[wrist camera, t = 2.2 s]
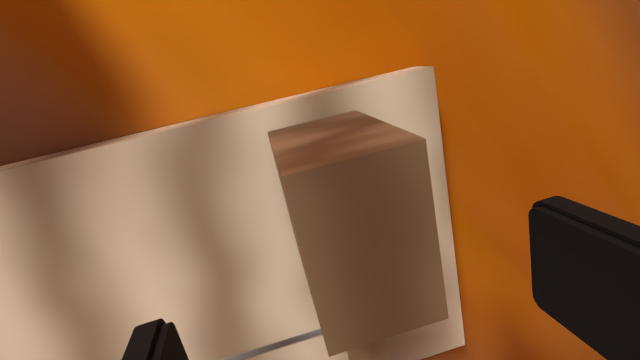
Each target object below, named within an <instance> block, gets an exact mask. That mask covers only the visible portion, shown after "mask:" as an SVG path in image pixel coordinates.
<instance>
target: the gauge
mask: <svg viewBox="0 0 640 360" xmlns="http://www.w3.org/2000/svg"><path fill="white" fill-rule="evenodd" d="M267 133H268V137H269V141H270V144H271V148H272V152H273V156H274V160H275V163H276V167H277V171H278V175H279V179H280V182H281V186H282V190H283V194H284V197H285V201H286V205H287V209H288V213H289V216H290V220H291V224H292V228H293V232H294V235H295V239H296V243H297V247H298V251H299V254H300V258H301V261H302V265H303V268H304V272H305V275H306V279H307V282H308V286H309V289H310V293H311V296H312V300H313V303H314V307H315V310H316V313H317V317H318V320H319V324H320V327H321V331H322V334H323V338H324V341H325V345H326V348H327V352H328V355H329V357H330V356H333V355H337V354H340V353H343V352H346V351H347V354H348V359H349V360H390V358H389V353H388V348H387V343H386V338H389V337H393V336H396V335H399V334H402V333H405V332H408V331H411V330H414V329H417V328H421V327H424V326H427V325H430V324H433V323H436V322H439V321H442V320H445V319H449V317H448V309H447V301H446V293H445V286H444V278H443V270H442V262H441V254H440V246H439V239H438V231H437V223H436V215H435V207H434V199H433V191H432V184H431V176H430V168H429V160H428V152H427V144H426V139H425V138H423V137H420V136H418V135H416V134H413V133H411V132H408V131H406V130H403V129H401V128H398V127H396V126H394V125H391V124H389V123H386V122H384V121H381V120H379V119H376V118H374V117H371V116H369V115H367V114H364V113H362V112H359V111H357V110H353V111H349V112H345V113H341V114H337V115H333V116H329V117H325V118H321V119H317V120H313V121H309V122H305V123H301V124H297V125H293V126H289V127H285V128H281V129H277V130H273V131H269V132H267Z"/></svg>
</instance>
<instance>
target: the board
mask: <svg viewBox="0 0 640 360" xmlns="http://www.w3.org/2000/svg"><path fill="white" fill-rule="evenodd" d="M353 110H357V111H359V112H362V113H364V114H367V115H369V116H371V117H374V118H376V119H379V120H381V121H384V122H386V123H389V124H391V125H394V126H396V127H398V128H401V129H403V130H406V131H408V132H411V133H413V134H416V135H418V136H420V137H423V138H425V139H426V144H427V152H428V160H429V168H430V176H431V184H432V191H433V199H434V207H435V215H436V223H437V231H438V239H439V246H440V254H441V262H442V270H443V278H444V286H445V293H446V301H447V309H448V317H449V319H445V320H442V321H439V322H436V323H433V324H430V325H427V326H424V327H421V328H417V329H414V330H411V331H408V332H405V333H402V334H399V335H396V336H393V337H389V338H386V343H387V348H388V353H389V358H390V360H421V359H424V358H427V357H430V356H433V355H436V354H439V353H442V352H445V351H448V350H451V349H454V348H457V347H460V346H463V345H465V339H464V330H463V321H462V312H461V303H460V295H459V286H458V277H457V268H456V259H455V251H454V242H453V233H452V224H451V215H450V206H449V198H448V189H447V180H446V171H445V162H444V154H443V145H442V136H441V127H440V118H439V110H438V101H437V92H436V83H435V74H434V67H421V66H415V67H411V68H407V69H402V70H398V71H394V72H390V73H386V74H382V75H377V76H373V77H369V78H365V79H361V80H357V81H352V82H348V83H344V84H340V85H336V86H332V87H327V88H323V89H319V90H315V91H311V92H307V93H302V94H298V95H294V96H290V97H286V98H282V99H277V100H273V101H269V102H265V103H261V104H257V105H252V106H248V107H244V108H240V109H236V110H232V111H227V112H223V113H219V114H215V115H211V116H207V117H202V118H198V119H194V120H190V121H186V122H182V123H177V124H173V125H169V126H165V127H161V128H157V129H152V130H148V131H144V132H140V133H136V134H132V135H127V136H123V137H119V138H115V139H111V140H107V141H102V142H98V143H94V144H90V145H86V146H82V147H77V148H73V149H69V150H65V151H61V152H57V153H52V154H48V155H44V156H40V157H36V158H32V159H27V160H23V161H19V162H15V163H11V164H7V165H2V166H0V360H122V357H123V355H124V352H125V350H126V347H127V345H128V342H129V340H130V337H131V335H132V332H133V330H134V328H135V327H136V326H138V325H141V324H144V323H148V322H151V321H154V320H157V319H160V318H161V319H163V320H164V321H165V322H166V323H169V322H173V323H174V325H175V327H176V329H177V331H178V334H179V336H180V339H181V341H182V344H183V346H184V349H185V351H186V354H187V356H188V359H189V360H349V359H348V354H347V351H346V352H343V353H340V354H337V355H333V356H330V357H329V355H328V352H327V348H326V345H325V341H324V338H323V334H322V331H321V327H320V324H319V320H318V317H317V313H316V310H315V307H314V303H313V300H312V296H311V293H310V289H309V286H308V282H307V279H306V275H305V272H304V268H303V265H302V261H301V258H300V254H299V251H298V247H297V243H296V239H295V235H294V232H293V228H292V224H291V220H290V216H289V213H288V209H287V205H286V201H285V197H284V194H283V190H282V186H281V182H280V179H279V175H278V171H277V167H276V163H275V160H274V156H273V152H272V148H271V144H270V141H269V137H268V133H267V132H269V131H273V130H277V129H281V128H285V127H289V126H293V125H297V124H301V123H305V122H309V121H313V120H317V119H321V118H325V117H329V116H333V115H337V114H341V113H345V112H349V111H353Z"/></svg>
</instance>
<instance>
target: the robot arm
mask: <svg viewBox="0 0 640 360" xmlns="http://www.w3.org/2000/svg"><path fill="white" fill-rule="evenodd" d="M529 233H530V252H531V271H532V291H533V298H534V300H535V302H536V304H537V305H538V306H539V307H540V308H541V309H542V310H543V311H545V312H546V313H547V314H548V315H550V316H551V317H552V318H554V319H555V320H556V321H558V322H559V323H560V324H561V325H563V326H564V327H565V328H567V329H568V330H569V331H571V332H572V333H573V334H574V335H576V336H577V337H578V338H580V339H581V340H582V341H584V342H585V343H586V344H587V345H589V346H590V347H591V348H593V349H594V350H595V351H597V352H598V353H599V354H600V355H602V356H603V357H604V358H606V359H607V360H640V226H638V225H635V224H633V223H630V222H627V221H625V220H622V219H619V218H617V217H614V216H611V215H609V214H606V213H603V212H601V211H598V210H596V209H593V208H590V207H588V206H585V205H582V204H580V203H577V202H574V201H572V200H569V199H566V198H564V197H561V196H553V197H550V198H547V199H543V200H540V201H537V202H535V203H534V204H533V206H532V209H531V210H530V211H529ZM122 360H189V359H188V356H187V354H186V351H185V349H184V346H183V344H182V341H181V339H180V336H179V334H178V331H177V329H176V327H175V325H174V323H173V322H169V323H166V322H165V321H164V320H163V319H161V318H160V319H157V320H154V321H151V322H148V323H144V324H141V325H138V326H136V327H135V328H134V330H133V332H132V335H131V337H130V340H129V342H128V345H127V347H126V350H125V352H124V355H123V357H122Z"/></svg>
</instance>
